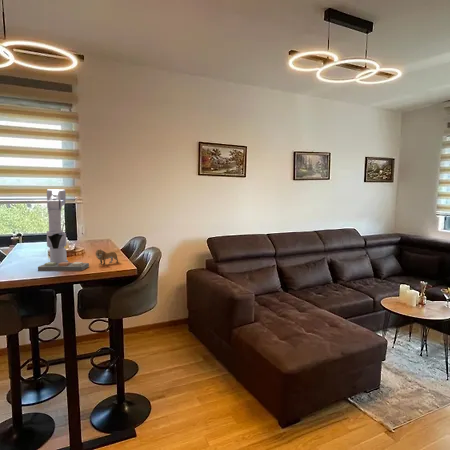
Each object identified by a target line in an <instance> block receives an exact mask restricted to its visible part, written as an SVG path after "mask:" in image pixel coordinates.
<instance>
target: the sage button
mask: <svg viewBox="0 0 450 450" xmlns="http://www.w3.org/2000/svg"><path fill="white" fill-rule="evenodd" d="M44 264H45V266H54V265H56V262H50V261H47V262H45V263H44Z"/></svg>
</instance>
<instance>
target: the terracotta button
mask: <svg viewBox="0 0 450 450" xmlns="http://www.w3.org/2000/svg"><path fill="white" fill-rule="evenodd" d="M70 263H71V262H70V261H68V262H61V263H59V266H68V265H70Z"/></svg>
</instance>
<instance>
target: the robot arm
mask: <svg viewBox="0 0 450 450" xmlns="http://www.w3.org/2000/svg"><path fill="white" fill-rule="evenodd" d="M66 194H67V192H66V189H53V188H51V189H50V188H47V190H46V199H47V201H46V208H47V214H48V230H46V247H48V249H49V257H50V258H49V260H50V261H49V262H56V263H61V262H69V260H68V259H67V249H66V248H65V247H66V246H67V233H66V232H65V231H64V230H62V207H64V206H65V205H66V199H67V195H66Z"/></svg>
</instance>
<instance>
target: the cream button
mask: <svg viewBox="0 0 450 450" xmlns="http://www.w3.org/2000/svg"><path fill="white" fill-rule="evenodd" d="M71 263H72V266H81V265H83V263H84V262H83V261H75V262H71Z"/></svg>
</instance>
